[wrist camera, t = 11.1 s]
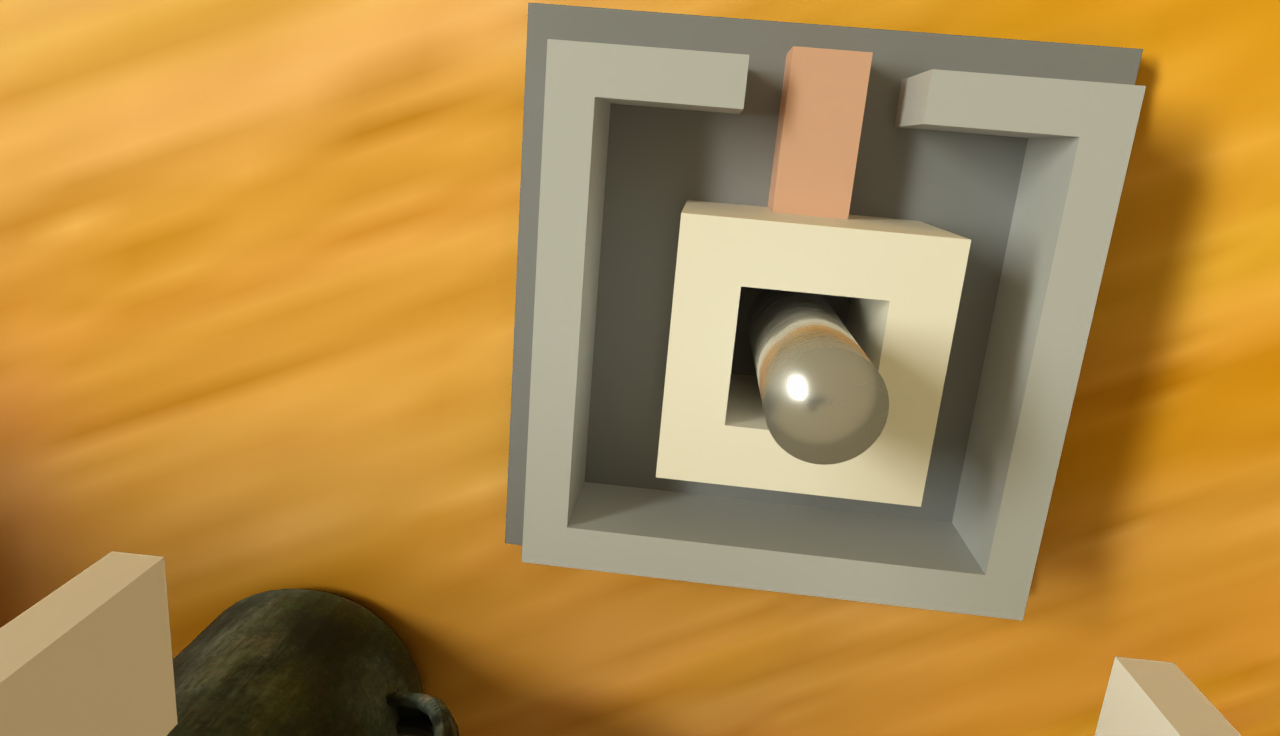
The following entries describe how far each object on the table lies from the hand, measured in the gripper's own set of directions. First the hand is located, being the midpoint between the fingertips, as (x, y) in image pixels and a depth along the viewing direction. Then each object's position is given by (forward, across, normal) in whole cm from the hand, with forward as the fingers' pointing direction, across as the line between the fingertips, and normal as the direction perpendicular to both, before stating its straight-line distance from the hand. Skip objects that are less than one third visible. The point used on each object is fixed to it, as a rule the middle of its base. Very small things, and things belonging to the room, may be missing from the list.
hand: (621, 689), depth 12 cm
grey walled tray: (+21, +4, +2) cm, 21 cm away
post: (+20, +4, +2) cm, 20 cm away
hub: (+20, +4, +4) cm, 20 cm away
